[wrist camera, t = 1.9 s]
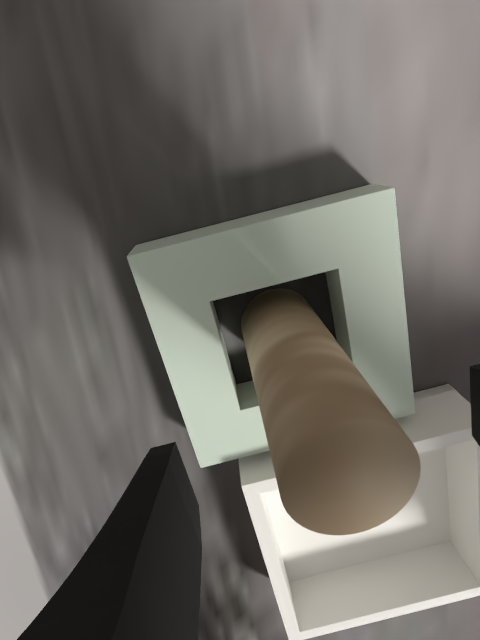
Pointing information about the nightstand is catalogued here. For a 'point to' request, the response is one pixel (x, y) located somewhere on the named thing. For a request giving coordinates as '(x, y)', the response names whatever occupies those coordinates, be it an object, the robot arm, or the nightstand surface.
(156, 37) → the nightstand surface
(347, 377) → the dowel
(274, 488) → the tray
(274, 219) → the holder
